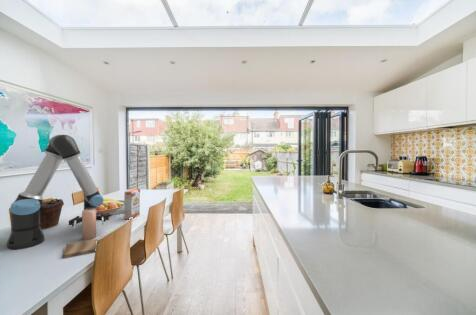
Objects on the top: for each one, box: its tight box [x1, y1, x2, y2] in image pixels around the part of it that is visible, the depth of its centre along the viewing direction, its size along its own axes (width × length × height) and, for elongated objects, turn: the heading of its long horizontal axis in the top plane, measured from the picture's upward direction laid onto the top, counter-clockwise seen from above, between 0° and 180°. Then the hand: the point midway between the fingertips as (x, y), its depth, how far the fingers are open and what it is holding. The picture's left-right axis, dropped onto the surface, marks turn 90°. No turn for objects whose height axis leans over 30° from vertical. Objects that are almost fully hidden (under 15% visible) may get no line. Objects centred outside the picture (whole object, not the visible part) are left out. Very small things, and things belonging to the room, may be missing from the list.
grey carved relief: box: [110, 206, 124, 216], centre depth 186 cm, size 16×25×7 cm, turn 124°
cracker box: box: [123, 188, 141, 220], centre depth 172 cm, size 14×6×21 cm, turn 179°
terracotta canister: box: [81, 209, 97, 241], centre depth 132 cm, size 7×7×16 cm
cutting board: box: [62, 238, 98, 259], centre depth 117 cm, size 14×14×2 cm
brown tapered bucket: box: [40, 198, 65, 230], centre depth 150 cm, size 18×20×18 cm
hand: (89, 224), depth 129 cm, fingers open, 13 cm apart
